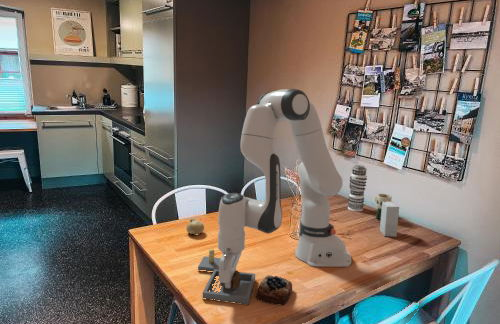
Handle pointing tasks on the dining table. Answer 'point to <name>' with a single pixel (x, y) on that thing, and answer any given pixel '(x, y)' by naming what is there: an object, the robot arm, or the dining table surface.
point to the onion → (195, 226)
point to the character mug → (379, 200)
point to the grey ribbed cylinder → (357, 188)
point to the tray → (231, 295)
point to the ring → (233, 281)
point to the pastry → (274, 290)
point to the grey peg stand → (209, 262)
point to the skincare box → (389, 219)
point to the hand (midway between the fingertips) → (230, 280)
